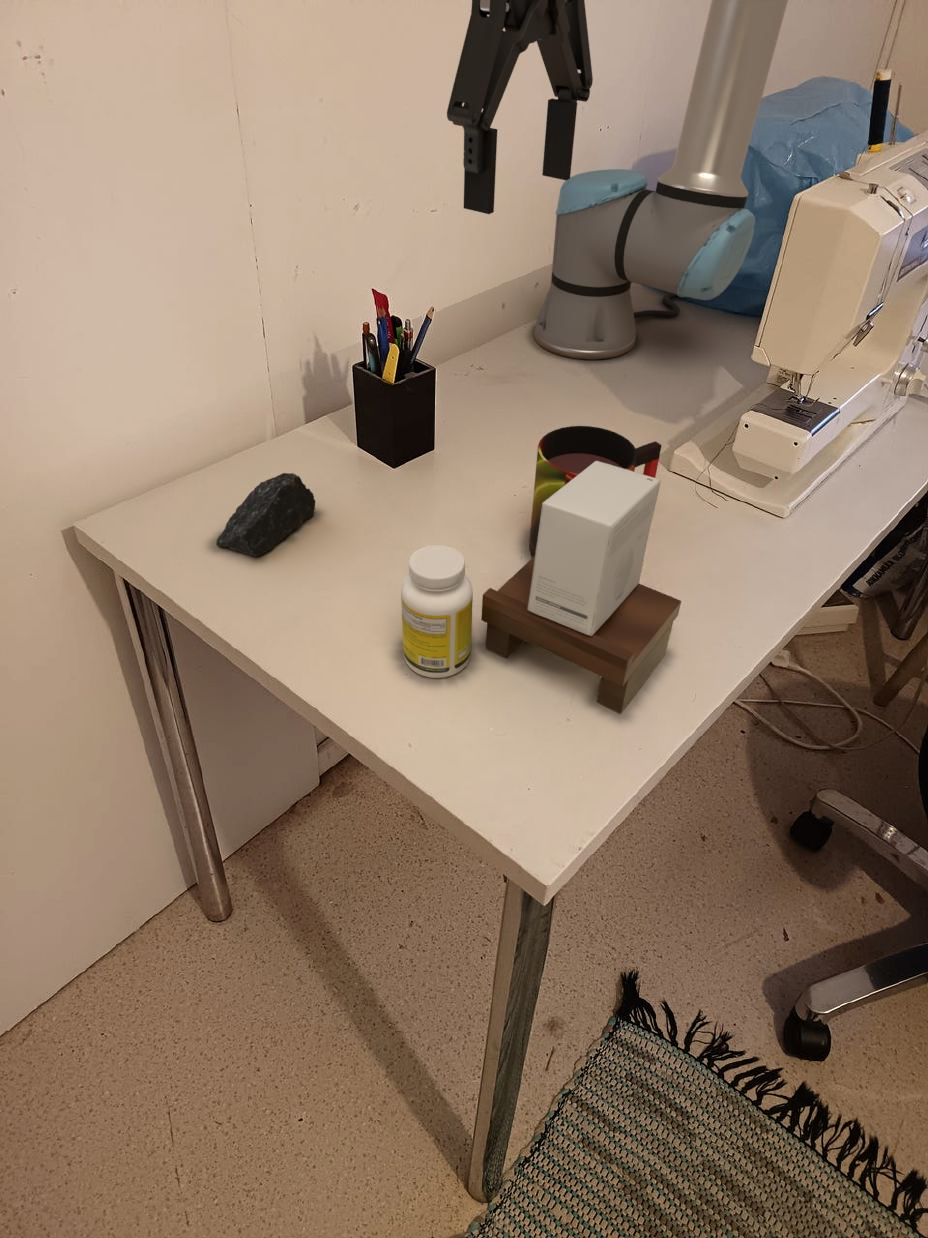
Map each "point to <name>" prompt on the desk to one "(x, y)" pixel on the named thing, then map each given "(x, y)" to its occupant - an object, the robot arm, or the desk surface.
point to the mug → (582, 462)
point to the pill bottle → (437, 612)
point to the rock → (268, 515)
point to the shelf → (612, 652)
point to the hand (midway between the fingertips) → (519, 193)
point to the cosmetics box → (591, 545)
